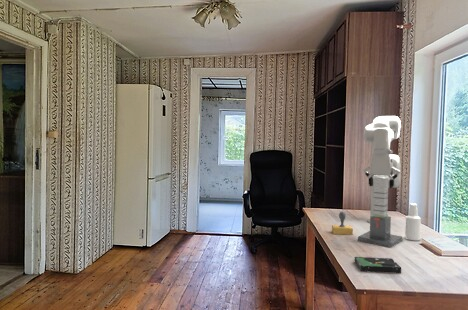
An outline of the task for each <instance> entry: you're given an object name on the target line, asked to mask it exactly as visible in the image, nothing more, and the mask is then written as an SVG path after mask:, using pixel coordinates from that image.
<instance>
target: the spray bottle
mask: <svg viewBox="0 0 468 310" xmlns="http://www.w3.org/2000/svg"><path fill="white" fill-rule="evenodd" d="M408 208H409V209H408V215H406V216H405V239H406V240H410V241H421V233H422V232H421V230H422V229H421V227H422V223H421V222H422V219H421V217H420V216H419V215H418V214H419V212H418V211H419V208H418V204H417V203H414V202H413V203H412V202H411V203H409V207H408Z"/></svg>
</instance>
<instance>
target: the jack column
mask: <svg viewBox="0 0 468 310" xmlns="http://www.w3.org/2000/svg"><path fill="white" fill-rule="evenodd" d="M388 198H389V187H388V178H381V177H377V178H374V214H373V216H374V217H377V218H384V219H385V218H387V216H389V215H388V209H389V206H388V205H389V199H388Z"/></svg>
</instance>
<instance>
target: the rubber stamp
mask: <svg viewBox="0 0 468 310" xmlns="http://www.w3.org/2000/svg"><path fill="white" fill-rule="evenodd" d="M338 217H339V221H340V222H341V223H340V224H339V225H338V224H337V225H336V224H333V225H331V233H332V234H333V235H346V236H347V235H348V236H351V235H352V236H353V235H354V234H353V233H354V227H352V226H351V225H345V224H344V223H345V222H344V221H345V220H346V217H347V216H346V212H344V211H340V212H339V214H338Z"/></svg>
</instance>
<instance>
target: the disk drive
mask: <svg viewBox="0 0 468 310" xmlns="http://www.w3.org/2000/svg"><path fill="white" fill-rule="evenodd" d="M354 261H355V262H354V263H355V265H356V266H357V268H358V269H359V271H360V272H367V271H370V272H372V273H374V272H375V273H389V274H390V273H391V274H402V267H401V266H400V265H399V264H398V263H397V262H395V260H394V259H393V258H388V257H385V258H384V257H370V256H368V257H367V256H366V257H364V256H354ZM370 272H369V273H370Z"/></svg>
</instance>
